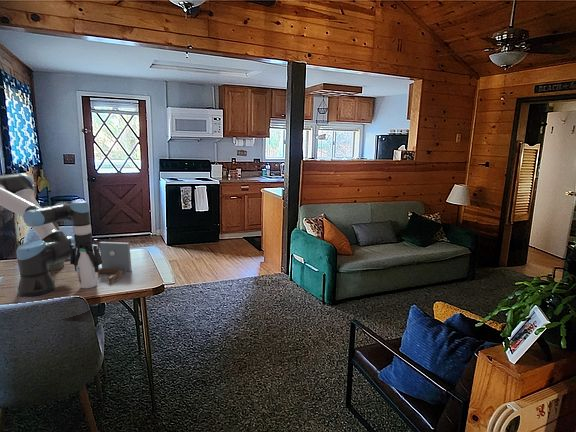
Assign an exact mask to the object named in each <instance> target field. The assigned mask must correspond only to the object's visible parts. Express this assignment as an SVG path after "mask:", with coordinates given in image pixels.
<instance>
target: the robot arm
mask: <svg viewBox="0 0 576 432" xmlns="http://www.w3.org/2000/svg"><path fill="white" fill-rule="evenodd" d="M34 195H35V184H34V181H33V179H32V178H31V177H30V176H29V175H28V174H25V173H21V172H20V173H19V172H18V173H17V172H14V173H10V174H0V206H1V207H2V208H4V209H6V210H8V211H9V212H12V213H14V214H16V215H18V216H20V217H21V218H22V219H23V222H24V223H25V225H26V226H27V227H29V228H32V229H33V231H34V232H35V234H36V235H37V237H38V238H39V239H38V240H37V239H36V240H30V241H28V242H24V243H22V244H20V245H19V246H18V247H17V248H16V259H17V264H18V266H17V267H18V271H19V276H20V277H19V282H18V287H17V294H18V296H21V297H35V296H41V295H45V294H47V293H48V294H49V293H50V292H52V291H53V290H55V289H56V287H57V286H56V282H55V280H54V279H53V277H52V275H51V273H50V270H49V265H52V264H55V263H58V262H61V261H64V262H65V261H67V260H69V264H70V265H73V266H74V271H75V272H76V278H77V279H79V275H78V260H79V257H80V251H79V249H80V248H84V249H85V250H86V251H85V252H86V253H87V254H88V256H89V257H90V259H91V261H92V263H93V265H94V266H93V267H92V269H93V278H94V279H96V278H97V279H98V278H99V276H98V272H99V268H100V265H102V260H101V255H100V246H99V244H94V243H93V234H92V225H91V215H90V214H91V213H90V211H91V209H90V207H89V202H88V201H87V200H75V201H74V200H73V201H71V202H70V203H65V202H61V203H59V202H58V203H55V204H54V205H49V206H50V207H45V208H41V207H42V206H41V205H40V203H38V201H37V199H36V198H35V197H34ZM64 220H68V221H72V222H71V223H72V231H73V234H74V235H73V236H72V235H66V234H65V233H64V231H62V230H60V231H58V230H57V229H56V227H55V226H54V225H53V223H52V222H57V223H58V222H61V221H64ZM89 251H90V252H89ZM76 254H77V255H76Z"/></svg>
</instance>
